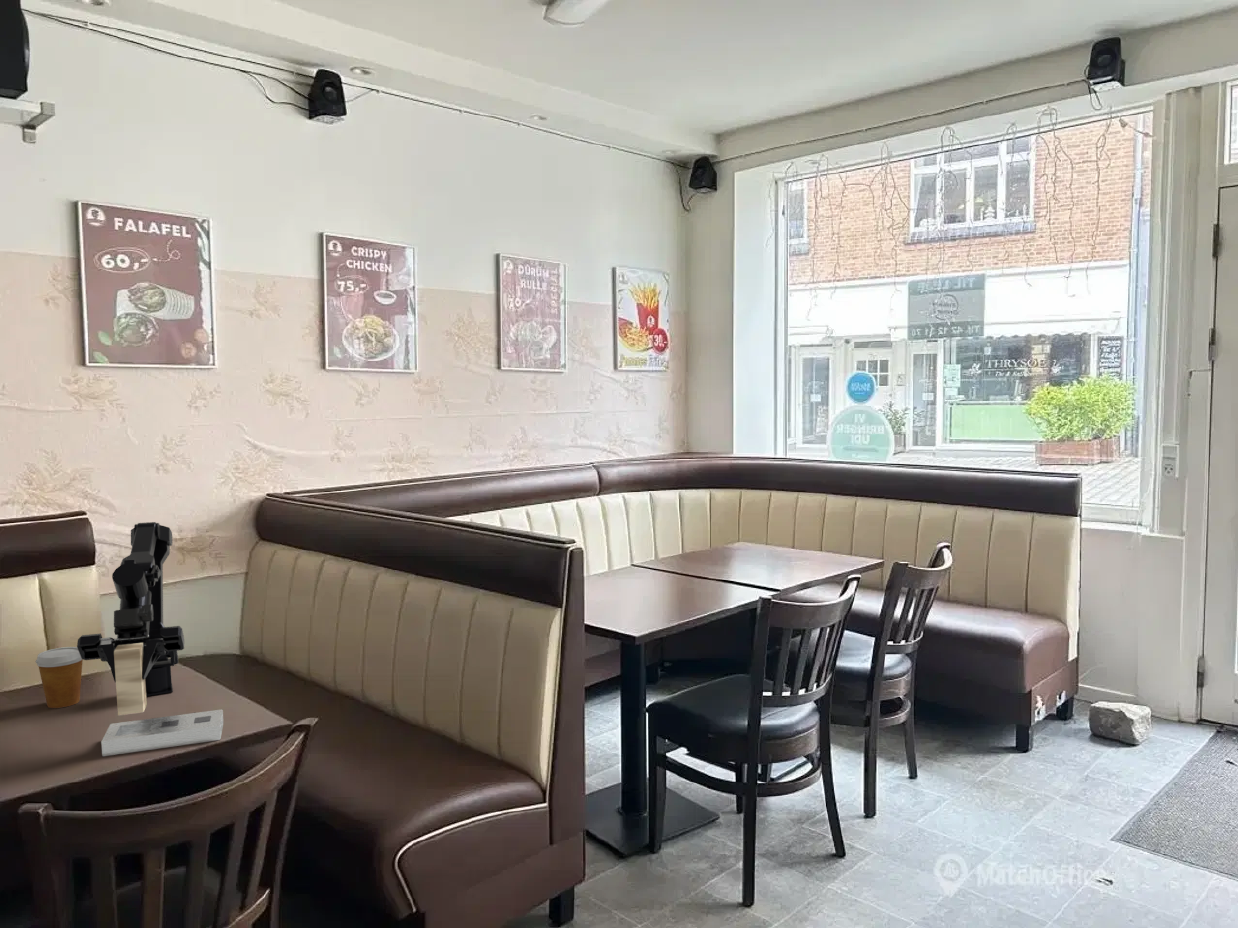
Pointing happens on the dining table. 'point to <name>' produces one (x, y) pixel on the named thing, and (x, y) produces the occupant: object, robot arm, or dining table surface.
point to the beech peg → (130, 679)
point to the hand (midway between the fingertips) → (129, 680)
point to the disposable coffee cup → (61, 676)
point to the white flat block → (162, 732)
